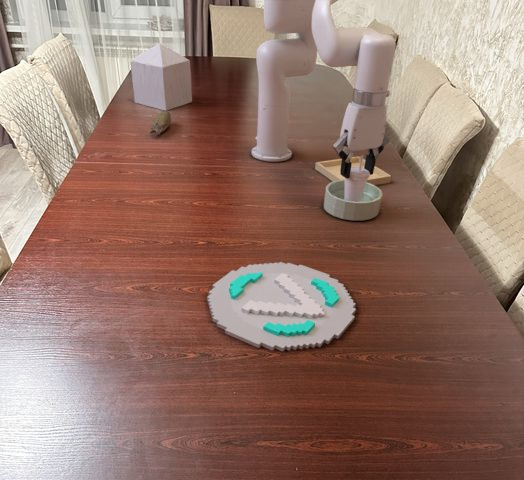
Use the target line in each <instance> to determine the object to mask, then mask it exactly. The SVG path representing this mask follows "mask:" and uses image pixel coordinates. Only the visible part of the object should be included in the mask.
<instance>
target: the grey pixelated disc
mask: <svg viewBox="0 0 524 480" xmlns="http://www.w3.org/2000/svg"><path fill="white" fill-rule="evenodd" d="M211 288H212V289H210V290H209V291H208V295H207V297H206V301H207V305H208V308H209V312H210V313H209V314H210V316H211V317H210V318H211V319H212V320H211V322H213V323H216V327H217V328H219V329H222V330H224V334H225V335H227V336H230V337H232V338H234V339H237V340H239V341H241V342H244V343H246V344H248V345H251V346H253V347H254V348H257V349H260V348H261V347H263V348H265V349H267V350H270V351H274V350H275V349H276V350H278V351H280V352H285V350H286V351H288V352H290V351H291V350H293V351H296V350H297V349H299V350H303V349H307V350H308V349H309V348H312V349H315V347H318V348H321V347H322V346H323V344H326V345H329V344H330V343H331V342H332V341H333V340H334V339H337V340H339V339H340V338H341V336H342V335H343V334H344V332H345V331H346V330H347V329H348V328H349V326H350V325H351V324H352V323H353V322H354V321H355V317H356V316H355V314H356V312H357V308H356V305H357V303H355V302H354V301H355V300H354V299H352V296H351V295H350V292H349V291H348V290H347V287H345V284H343V283H341V282H340V281H339V279H336V278H334V277H331V275H330V274H328V273H325V272H323V271H320V270H317V269H314V268H311V267H309V266H306V265H304V264H299V265H297V264H295V263H291V262H287V263H285V262H283V261H279V262H276V261H275V262H274V263H272V262H269V263H267V262H264V263H259V264H257V263H253V264H248V265H247V266H241V267H239V268H238V269H237V270H234V269H232V270H230V271H229V272H228V273H227V274H225V275H224V276H223V277H221V278H220V279H219V280H217V281H216V282H214V283H213V284H212V287H211ZM348 292H349V293H348Z"/></svg>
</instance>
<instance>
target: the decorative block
mask: <svg viewBox="0 0 524 480" xmlns="http://www.w3.org/2000/svg"><path fill="white" fill-rule="evenodd" d="M191 69H192V68H191V61H190V59H188V58H186V57H185V56H183V55H182V54H180V53H178V52H176V51H174V50H172V49H171V48H170V47H167V46H166V45H164V44H162V43H157V44H155V45H153V46H152V47H150V48H148V49H146V50H144V51H143V52H142V53H140V54H138V55H137V56H135V57H133V58H132V59H131V60H130V71H131V78H132V79H131V80H132V89H133V94H134V95H133V97H134V103H135V104H138V105H139V104H140V105H142V106H146V107H150V108H155V109H157V110H161V111H169V110H172V109H175V108H178V107H181V106H184V105H187V104H190V103H192V102H193V93H192V71H191Z"/></svg>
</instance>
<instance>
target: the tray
mask: <svg viewBox="0 0 524 480" xmlns="http://www.w3.org/2000/svg"><path fill="white" fill-rule="evenodd" d="M360 158H361V156H359V155H358V156H357V155H356V156H352V158H351V160H350V162H351V163H352V165H351V167H359V164H360ZM365 160H366V159H364V158H363V160H362V166H361V168H364V166H365ZM341 163H342V159H340V158H338V159H337V158H336V159H331V160H324V161H317V162H315V165H314V169H315V171H317V172H318V173H320V174H321V175H323V176H324V177H325V178H327V179H328V180H330V181H331V182H333V181H338V180H345V177H343V176H342V175H341V174H340V170H341ZM391 181H392V175H391V174H389V173H388V172H386V171H385V170H383V169H381V168H380V167H378V166H376V165H375V167H374V172H373V174H372V175H370V174H369V178H368V179H367V183H370V184H373V185H375V186H378V185H384V184H391Z"/></svg>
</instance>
